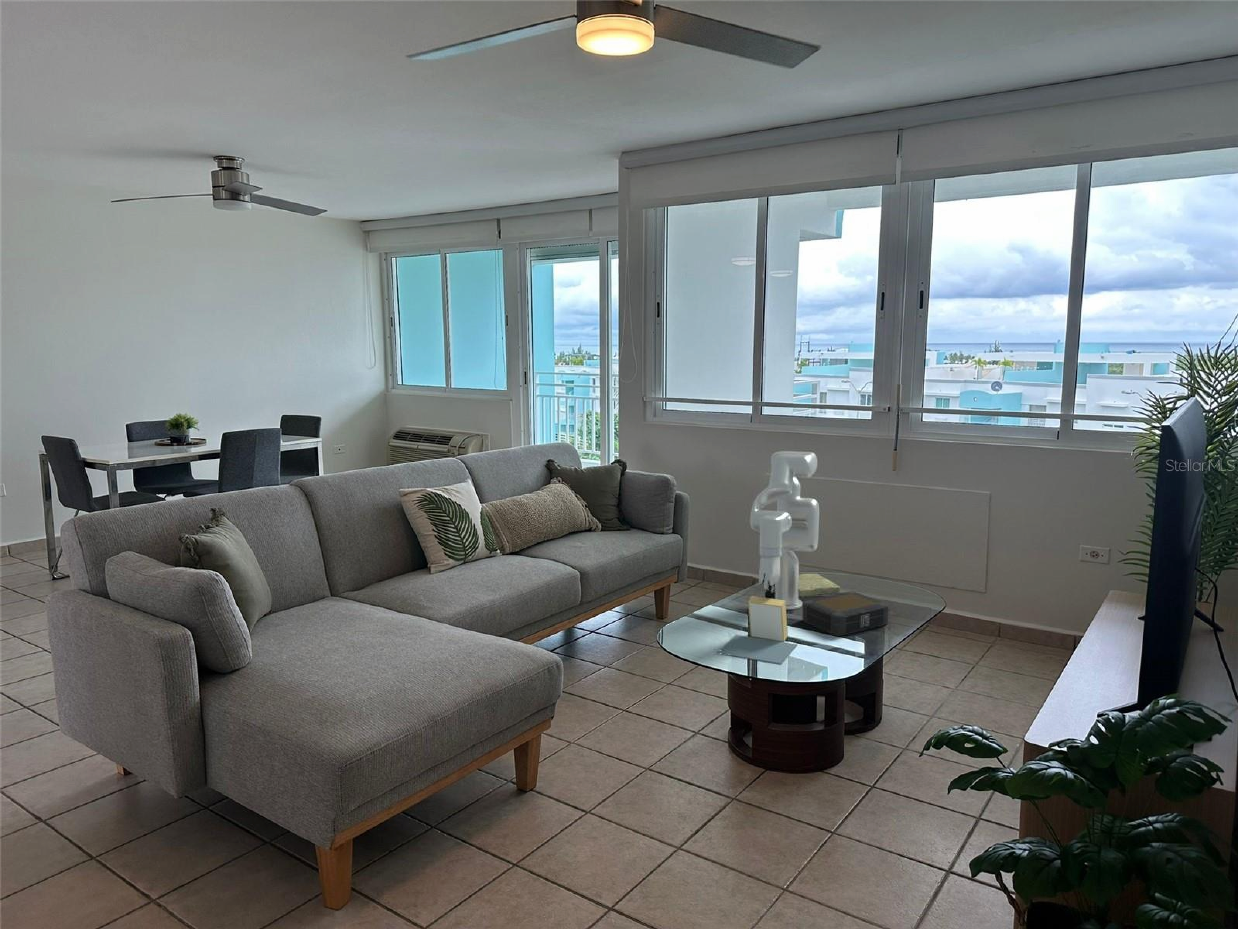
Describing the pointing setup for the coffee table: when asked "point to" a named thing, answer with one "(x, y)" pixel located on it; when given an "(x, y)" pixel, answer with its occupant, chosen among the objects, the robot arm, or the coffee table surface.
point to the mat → (758, 649)
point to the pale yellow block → (767, 618)
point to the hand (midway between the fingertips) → (770, 602)
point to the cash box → (845, 613)
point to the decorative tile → (815, 585)
